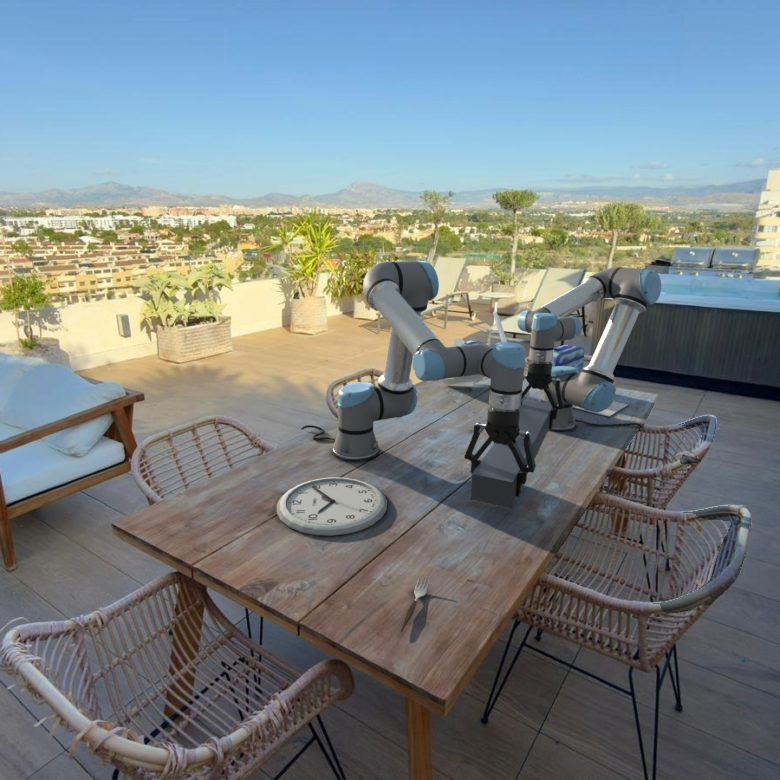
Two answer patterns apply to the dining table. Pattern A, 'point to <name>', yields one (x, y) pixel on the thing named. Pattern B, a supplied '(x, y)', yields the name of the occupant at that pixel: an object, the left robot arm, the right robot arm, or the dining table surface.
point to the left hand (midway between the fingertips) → (496, 489)
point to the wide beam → (509, 458)
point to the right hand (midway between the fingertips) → (534, 424)
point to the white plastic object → (478, 377)
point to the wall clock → (331, 506)
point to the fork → (418, 593)
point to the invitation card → (608, 409)
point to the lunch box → (569, 357)
